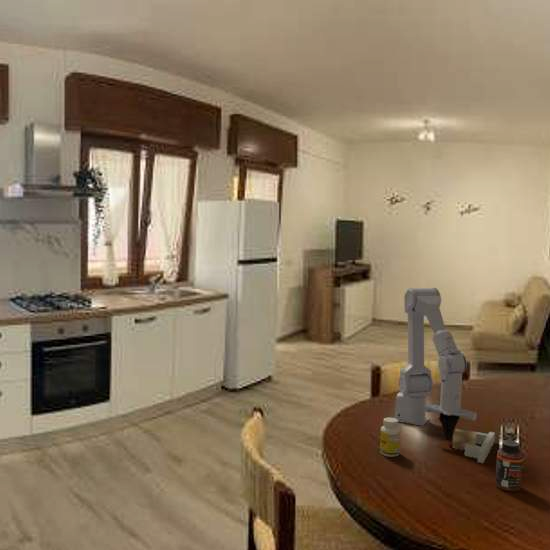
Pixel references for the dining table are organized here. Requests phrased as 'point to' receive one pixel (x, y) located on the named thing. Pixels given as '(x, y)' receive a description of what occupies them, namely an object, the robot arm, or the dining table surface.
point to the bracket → (482, 451)
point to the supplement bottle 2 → (509, 466)
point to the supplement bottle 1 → (390, 438)
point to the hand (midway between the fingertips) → (448, 439)
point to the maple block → (463, 438)
